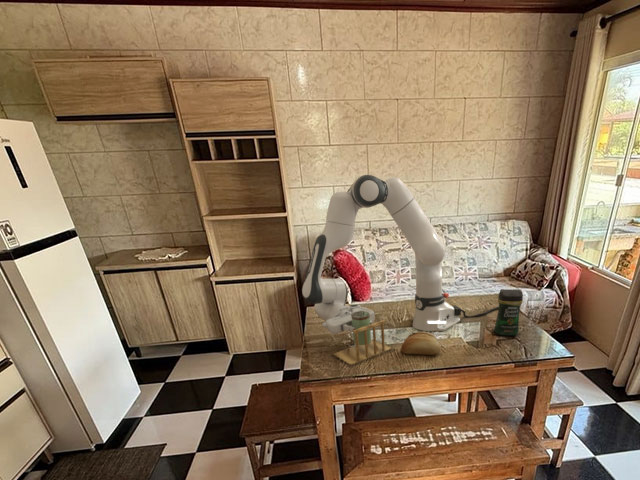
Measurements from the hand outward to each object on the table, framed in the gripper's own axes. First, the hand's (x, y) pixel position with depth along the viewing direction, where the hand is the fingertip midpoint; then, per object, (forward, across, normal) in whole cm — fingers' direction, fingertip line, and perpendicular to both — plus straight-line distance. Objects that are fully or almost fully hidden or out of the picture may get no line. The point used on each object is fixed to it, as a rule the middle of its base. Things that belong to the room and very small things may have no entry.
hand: (362, 326), depth 153 cm
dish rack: (-1, 0, +11) cm, 11 cm away
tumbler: (-1, 0, +6) cm, 6 cm away
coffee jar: (+26, +55, +12) cm, 62 cm away
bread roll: (+15, +16, +12) cm, 25 cm away
